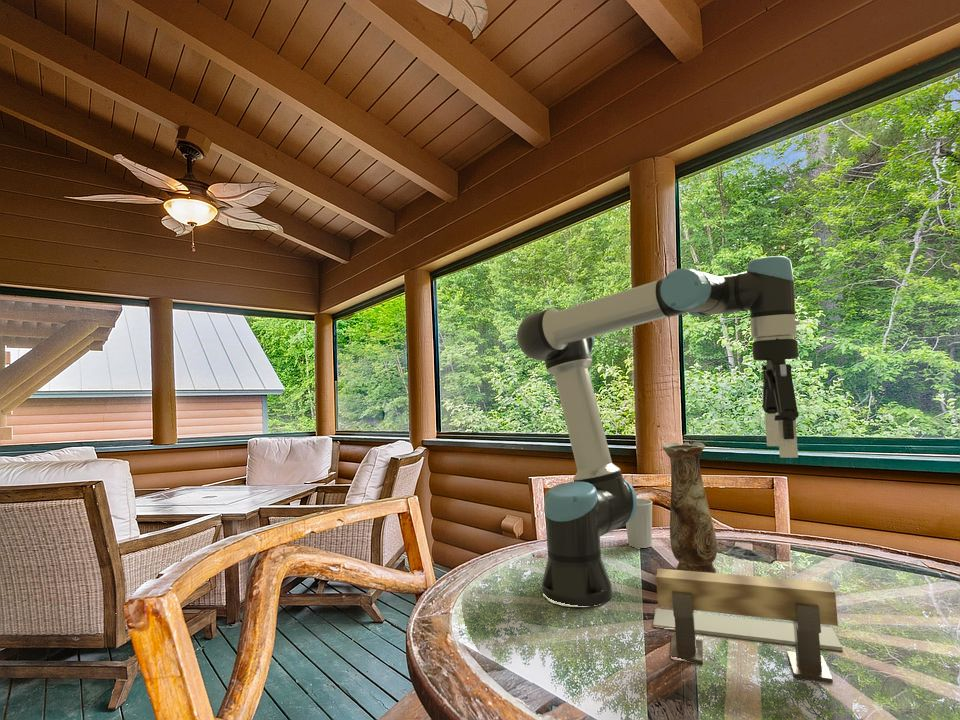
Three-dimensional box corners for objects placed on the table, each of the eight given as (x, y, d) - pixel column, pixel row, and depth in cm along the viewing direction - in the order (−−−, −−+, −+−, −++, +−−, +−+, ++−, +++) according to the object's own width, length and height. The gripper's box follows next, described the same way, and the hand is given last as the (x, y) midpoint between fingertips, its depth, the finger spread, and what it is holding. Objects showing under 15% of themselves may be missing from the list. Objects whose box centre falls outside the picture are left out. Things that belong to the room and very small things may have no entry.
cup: (640, 552, 139) (636, 506, 140) (619, 544, 147) (616, 501, 147) (661, 546, 143) (658, 501, 144) (640, 538, 150) (637, 496, 151)
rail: (658, 606, 89) (656, 576, 90) (659, 596, 93) (657, 568, 93) (837, 625, 79) (835, 592, 80) (831, 614, 83) (829, 582, 83)
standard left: (670, 659, 87) (665, 592, 88) (672, 639, 94) (667, 577, 94) (702, 664, 85) (697, 595, 86) (702, 643, 92) (697, 580, 92)
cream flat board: (653, 627, 98) (653, 624, 98) (656, 611, 105) (655, 608, 105) (842, 650, 87) (842, 647, 87) (832, 631, 93) (832, 627, 93)
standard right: (794, 677, 80) (788, 604, 81) (787, 654, 87) (782, 587, 87) (832, 682, 78) (826, 608, 79) (822, 659, 85) (817, 590, 85)
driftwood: (780, 563, 128) (780, 554, 128) (763, 569, 125) (762, 560, 125) (708, 543, 146) (707, 535, 146) (691, 548, 143) (691, 540, 143)
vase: (721, 580, 118) (711, 447, 119) (671, 577, 121) (662, 447, 122) (716, 563, 128) (707, 441, 129) (670, 561, 131) (661, 441, 132)
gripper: (813, 334, 86) (822, 463, 86) (783, 340, 110) (790, 442, 109) (762, 337, 89) (770, 462, 88) (743, 342, 112) (750, 442, 112)
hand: (781, 451), depth 99 cm, fingers open, 13 cm apart
